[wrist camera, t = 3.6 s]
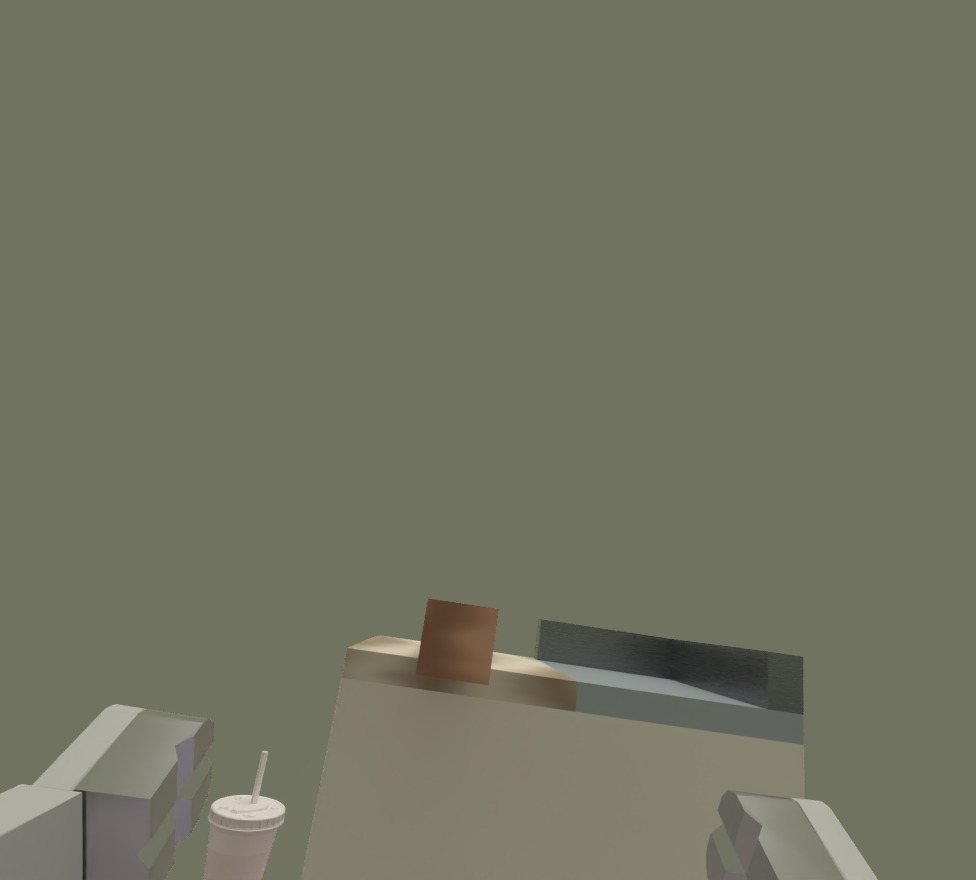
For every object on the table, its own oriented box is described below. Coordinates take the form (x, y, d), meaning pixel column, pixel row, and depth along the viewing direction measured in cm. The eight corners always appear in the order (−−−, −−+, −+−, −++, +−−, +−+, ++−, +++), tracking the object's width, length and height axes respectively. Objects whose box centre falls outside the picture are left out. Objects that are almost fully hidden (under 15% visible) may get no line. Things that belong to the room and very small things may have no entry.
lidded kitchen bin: (214, 1316, 24) (358, 590, 32) (302, 1041, 39) (385, 596, 48) (808, 1381, 25) (803, 656, 33) (669, 1087, 40) (688, 641, 48)
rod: (415, 674, 24) (428, 598, 25) (427, 645, 43) (434, 603, 44) (488, 685, 24) (498, 609, 25) (468, 651, 43) (474, 609, 44)
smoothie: (274, 930, 52) (311, 754, 56) (224, 967, 46) (268, 767, 50) (215, 908, 54) (254, 740, 58) (160, 940, 48) (207, 751, 52)
